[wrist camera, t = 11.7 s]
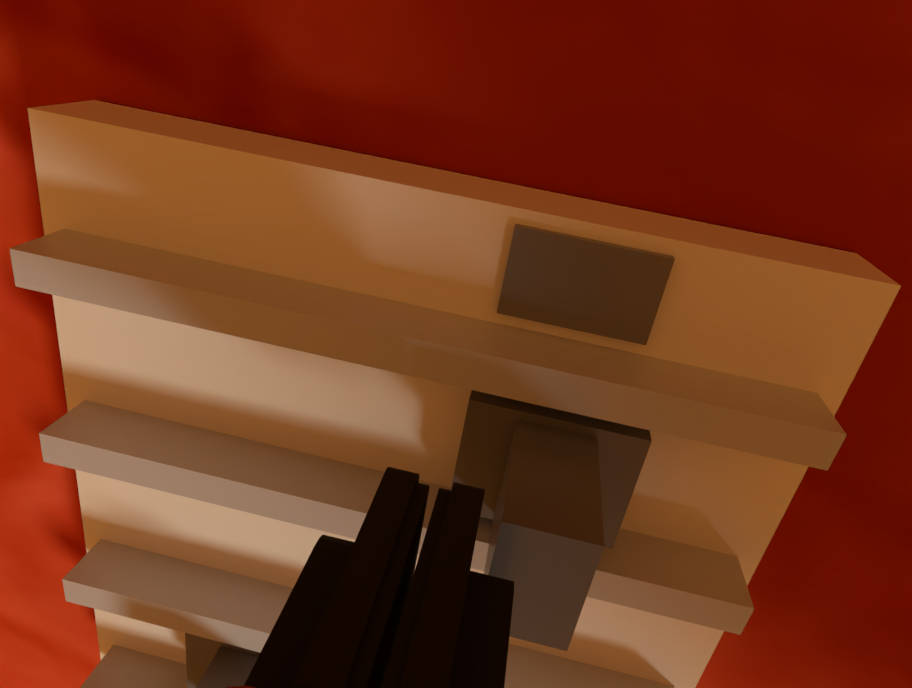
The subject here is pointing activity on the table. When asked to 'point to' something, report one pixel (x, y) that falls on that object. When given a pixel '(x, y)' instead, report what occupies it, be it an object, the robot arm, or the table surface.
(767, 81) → the table surface
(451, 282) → the switch panel
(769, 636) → the table surface
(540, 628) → the switch tab
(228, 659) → the switch tab
